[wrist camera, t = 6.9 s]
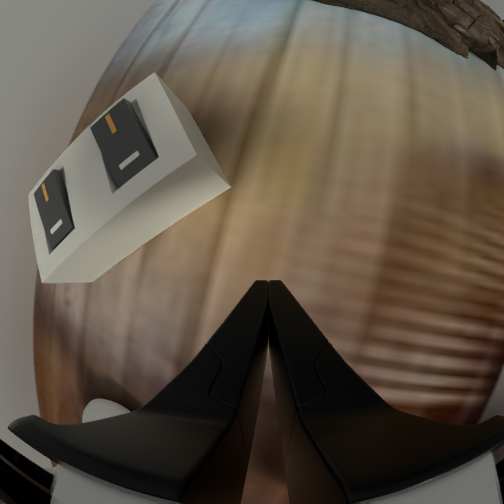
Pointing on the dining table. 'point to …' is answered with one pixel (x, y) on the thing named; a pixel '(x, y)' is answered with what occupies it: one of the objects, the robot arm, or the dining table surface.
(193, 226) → the dining table surface
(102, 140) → the rocker
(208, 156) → the box
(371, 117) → the dining table surface
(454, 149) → the dining table surface
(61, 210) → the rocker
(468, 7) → the driftwood
